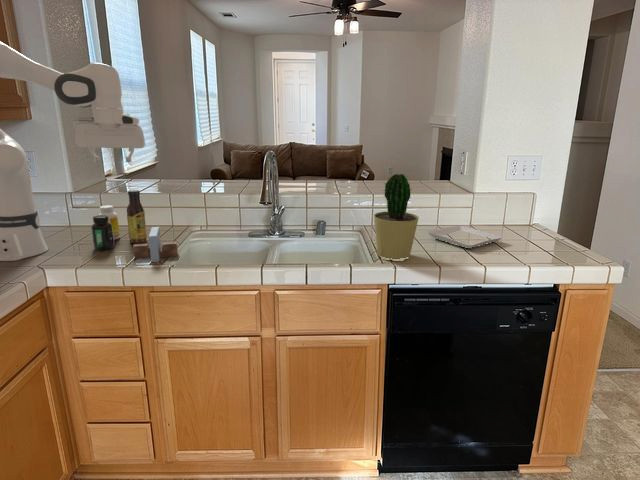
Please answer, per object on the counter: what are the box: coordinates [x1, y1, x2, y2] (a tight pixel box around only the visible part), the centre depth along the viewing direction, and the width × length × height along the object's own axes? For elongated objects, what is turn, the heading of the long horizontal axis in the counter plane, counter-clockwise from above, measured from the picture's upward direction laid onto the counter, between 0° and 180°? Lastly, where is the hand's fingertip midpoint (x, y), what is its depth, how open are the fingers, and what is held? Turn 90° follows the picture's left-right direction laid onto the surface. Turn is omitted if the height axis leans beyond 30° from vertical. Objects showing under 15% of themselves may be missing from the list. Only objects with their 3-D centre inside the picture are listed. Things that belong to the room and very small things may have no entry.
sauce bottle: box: [126, 189, 148, 244], centre depth 164 cm, size 6×6×20 cm
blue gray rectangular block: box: [148, 226, 162, 263], centre depth 149 cm, size 2×12×9 cm, turn 16°
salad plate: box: [427, 225, 503, 249], centre depth 173 cm, size 21×21×3 cm
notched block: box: [132, 241, 179, 260], centre depth 149 cm, size 14×2×4 cm, turn 106°
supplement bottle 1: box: [98, 205, 121, 241], centre depth 168 cm, size 7×7×13 cm
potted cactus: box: [373, 173, 419, 259], centre depth 150 cm, size 15×15×30 cm
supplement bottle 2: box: [90, 214, 116, 252], centre depth 156 cm, size 7×7×12 cm
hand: (113, 162), depth 141 cm, fingers open, 8 cm apart
